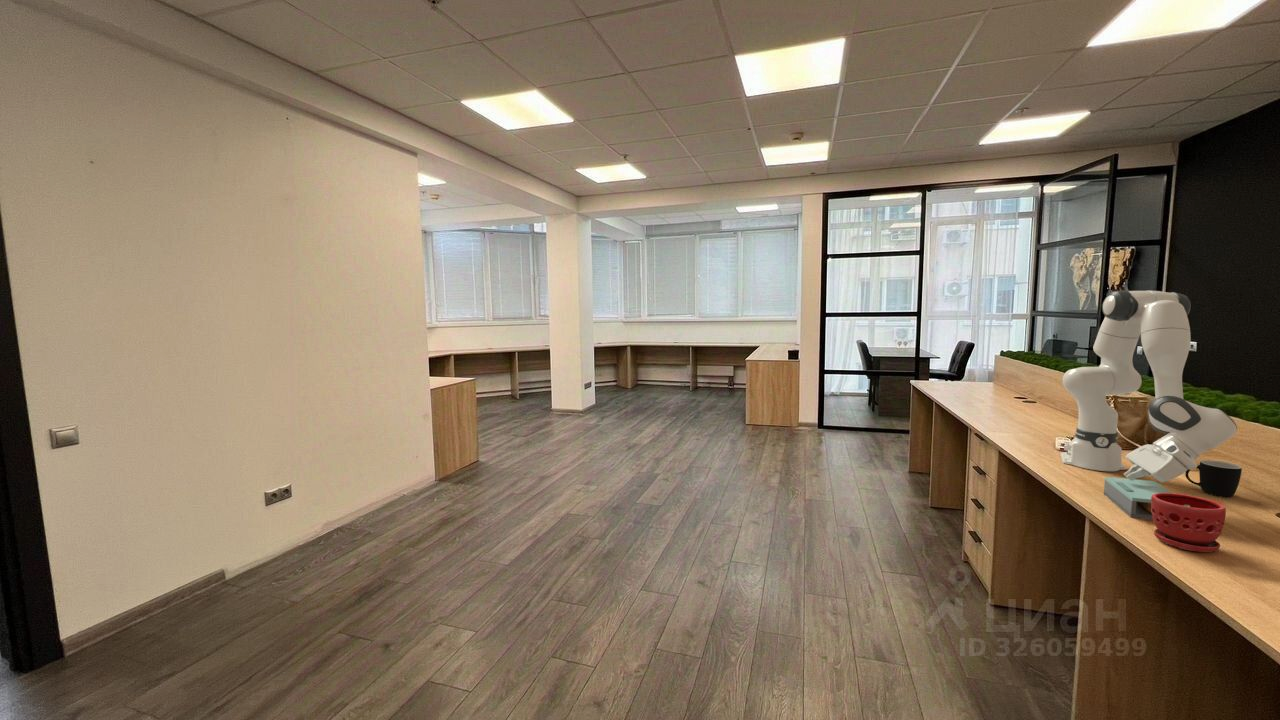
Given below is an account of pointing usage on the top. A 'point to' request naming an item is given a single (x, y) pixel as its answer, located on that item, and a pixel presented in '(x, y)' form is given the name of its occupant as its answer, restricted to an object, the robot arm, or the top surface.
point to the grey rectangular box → (1128, 503)
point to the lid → (1137, 488)
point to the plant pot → (1187, 521)
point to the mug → (1218, 477)
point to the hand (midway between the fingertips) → (1127, 477)
